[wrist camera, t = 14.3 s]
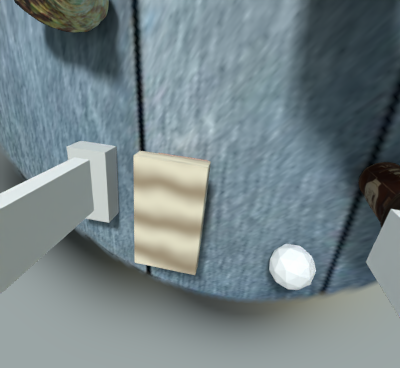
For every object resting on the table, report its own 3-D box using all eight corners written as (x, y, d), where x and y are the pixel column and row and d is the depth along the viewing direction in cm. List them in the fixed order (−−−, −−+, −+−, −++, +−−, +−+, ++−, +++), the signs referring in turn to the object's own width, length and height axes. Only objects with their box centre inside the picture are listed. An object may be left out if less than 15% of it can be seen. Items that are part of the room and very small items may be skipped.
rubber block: (80, 140, 47) (66, 146, 44) (116, 146, 46) (105, 152, 43) (87, 206, 53) (75, 216, 49) (118, 212, 52) (109, 222, 49)
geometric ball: (287, 252, 52) (280, 293, 49) (265, 235, 48) (256, 278, 45) (325, 255, 47) (320, 300, 43) (304, 236, 43) (297, 284, 39)
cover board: (140, 150, 39) (133, 155, 37) (210, 161, 38) (208, 167, 36) (140, 253, 48) (134, 262, 45) (197, 265, 46) (195, 275, 44)
